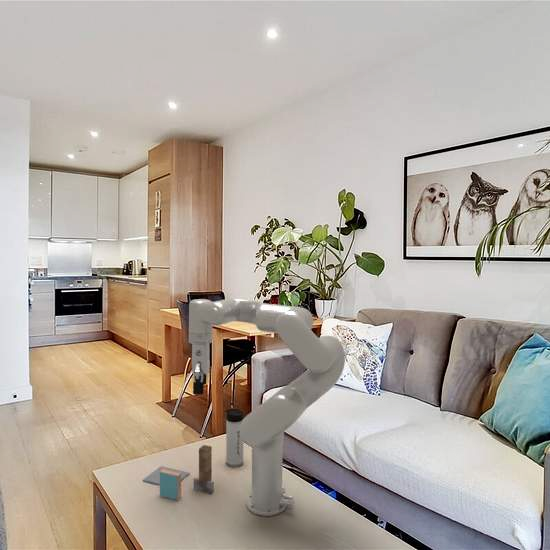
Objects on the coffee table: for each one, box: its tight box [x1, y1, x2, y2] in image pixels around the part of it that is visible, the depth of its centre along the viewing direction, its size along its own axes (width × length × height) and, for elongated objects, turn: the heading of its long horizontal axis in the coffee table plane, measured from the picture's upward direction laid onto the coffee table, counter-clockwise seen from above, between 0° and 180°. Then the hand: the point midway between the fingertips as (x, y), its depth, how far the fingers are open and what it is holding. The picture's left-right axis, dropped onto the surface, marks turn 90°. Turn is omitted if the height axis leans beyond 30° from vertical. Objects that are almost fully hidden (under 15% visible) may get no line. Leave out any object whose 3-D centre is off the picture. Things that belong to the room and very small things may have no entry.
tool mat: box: [142, 465, 190, 486], centre depth 147 cm, size 12×10×1 cm
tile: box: [159, 469, 182, 501], centre depth 136 cm, size 7×2×8 cm, turn 68°
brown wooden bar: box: [193, 444, 215, 495], centre depth 140 cm, size 7×3×14 cm, turn 68°
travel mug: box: [225, 408, 244, 468], centre depth 157 cm, size 6×7×20 cm
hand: (199, 389), depth 139 cm, fingers open, 9 cm apart
